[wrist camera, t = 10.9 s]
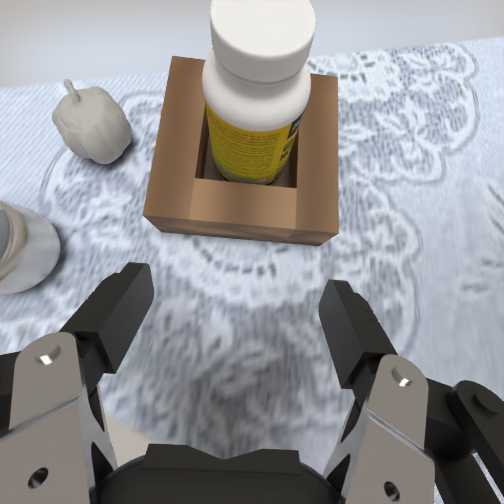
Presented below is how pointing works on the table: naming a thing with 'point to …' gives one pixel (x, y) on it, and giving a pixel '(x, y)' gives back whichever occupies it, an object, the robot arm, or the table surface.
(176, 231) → the wooden square tray
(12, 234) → the plastic bottle
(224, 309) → the table surface
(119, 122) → the garlic
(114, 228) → the table surface
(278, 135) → the pill bottle
